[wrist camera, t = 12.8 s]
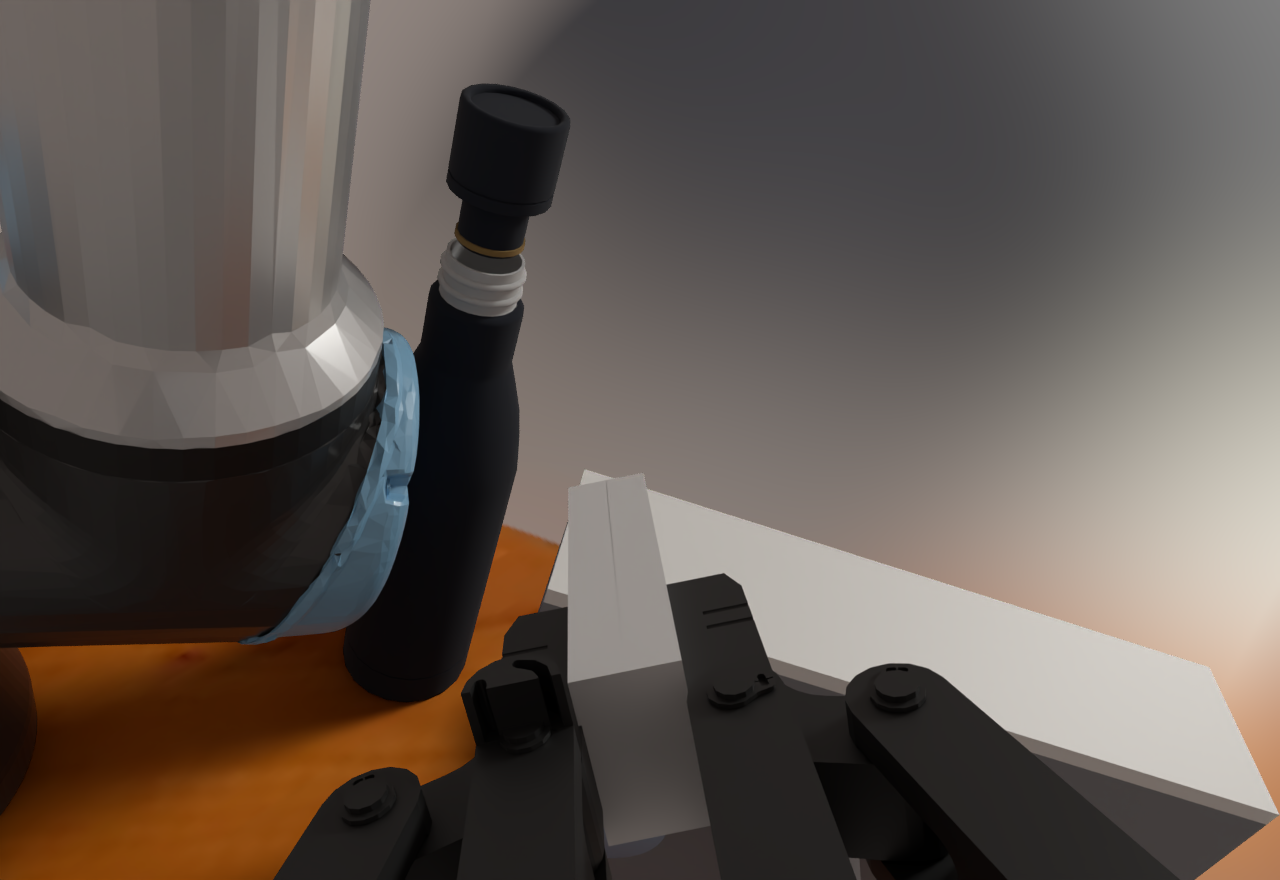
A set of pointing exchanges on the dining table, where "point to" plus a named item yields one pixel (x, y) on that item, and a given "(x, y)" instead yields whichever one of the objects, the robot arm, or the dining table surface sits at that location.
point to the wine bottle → (463, 399)
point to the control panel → (975, 684)
